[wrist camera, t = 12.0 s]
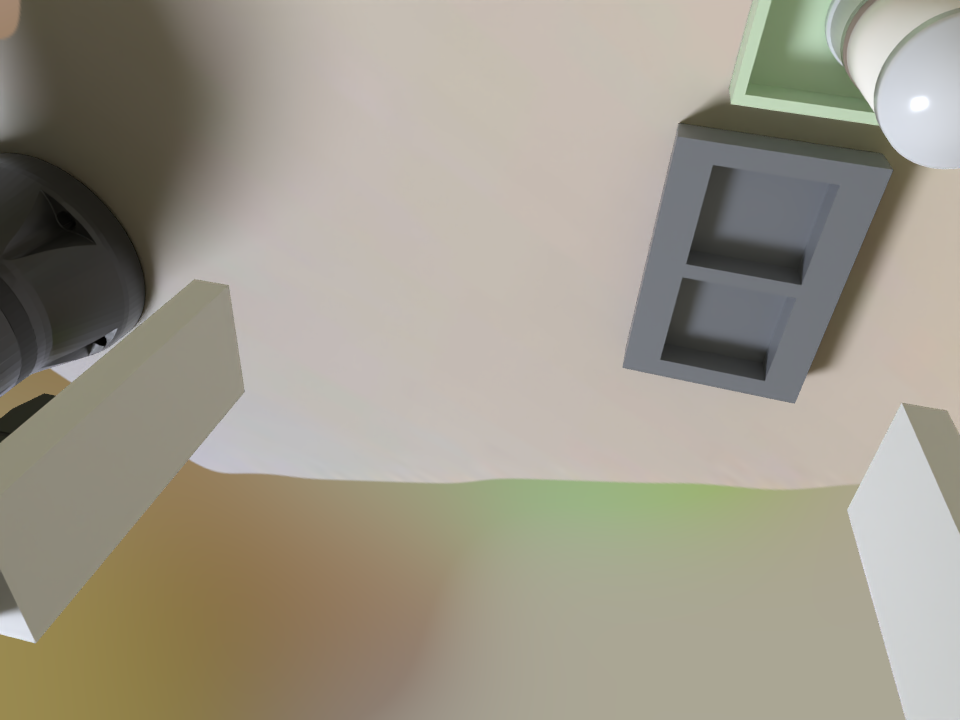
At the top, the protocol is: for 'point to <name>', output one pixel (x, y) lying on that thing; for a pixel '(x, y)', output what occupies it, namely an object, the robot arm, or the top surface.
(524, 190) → the top surface
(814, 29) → the parts tray
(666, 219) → the fuse holder
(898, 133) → the cylinder
